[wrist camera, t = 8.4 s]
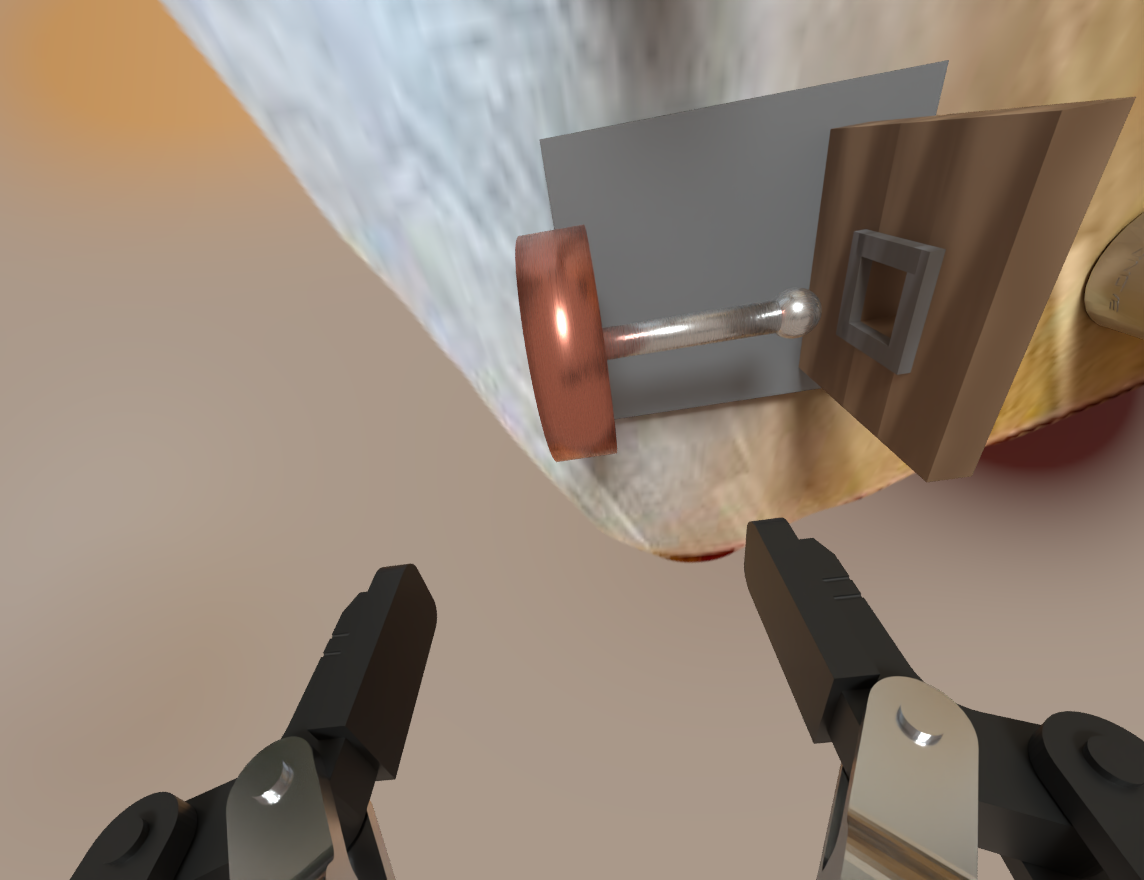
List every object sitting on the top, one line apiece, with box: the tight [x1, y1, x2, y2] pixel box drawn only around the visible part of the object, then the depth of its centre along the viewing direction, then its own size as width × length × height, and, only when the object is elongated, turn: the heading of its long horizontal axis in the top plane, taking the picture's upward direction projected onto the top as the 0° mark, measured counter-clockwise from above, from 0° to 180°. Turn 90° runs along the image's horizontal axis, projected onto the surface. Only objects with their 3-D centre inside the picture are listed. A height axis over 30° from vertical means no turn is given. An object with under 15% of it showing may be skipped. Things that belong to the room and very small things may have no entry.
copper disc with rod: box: [515, 224, 822, 462], centre depth 22 cm, size 14×11×11 cm
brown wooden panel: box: [799, 97, 1136, 482], centre depth 22 cm, size 3×14×13 cm, turn 9°
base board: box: [540, 60, 949, 419], centre depth 28 cm, size 21×18×2 cm
